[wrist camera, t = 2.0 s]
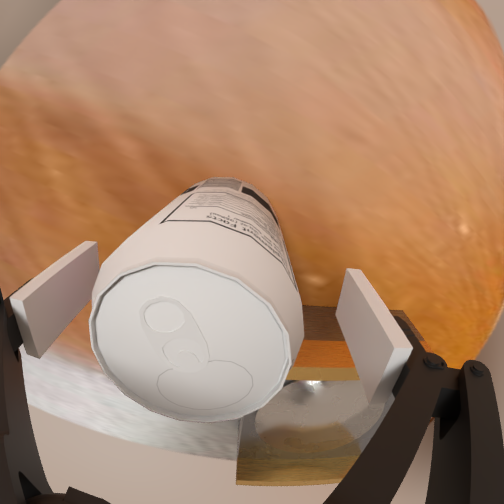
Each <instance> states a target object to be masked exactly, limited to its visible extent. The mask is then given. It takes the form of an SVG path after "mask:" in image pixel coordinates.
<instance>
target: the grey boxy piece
mask: <svg viewBox="0 0 504 504" xmlns="http://www.w3.org/2000/svg"><path fill="white" fill-rule="evenodd" d="M336 310H337V308H336V307H320V306H305V305H302V312H303V325H304V339H303V341H302V344H301V347H300V350H299V352H298V355H297V358H296V360H295V363H294V365H293V367H292V368H291V369H290V371H289V372H288V374H287V377H286V379H285V382H284V384H283V387H282V389H281V390H280V391H279V392H278V393H277V394H276V395H275V396H274V397H273V398H272V399H271V400H270V401H269V402H268V403H267V404H266V405H265V406H264V407H262V408H260V409H258V410H256V411H254V412H251V413H249V414H247V415H245V416H243V417H240V421H239V428H238V448H237V470H236V471H237V472H236V485H251V486H303V485H320V484H333V483H340V482H341V481H342V479H343V478H344V477H345V475H346V474H347V473H348V471H349V470H350V469H351V467H352V466H353V464H354V463H355V462H356V460H357V459H358V457H359V456H360V455H361V453H362V452H363V450H364V449H365V447H366V446H367V444H368V443H369V441H370V440H371V438H372V437H373V435H374V434H375V432H376V430H377V429H378V427H379V426H380V424H381V422H382V421H383V419H384V417H385V416H386V414H387V412H388V411H389V409H390V407H391V405H392V404H393V402H394V400H395V398H394V396H393V393H391V395H390V397H389V398H388V400H387V402H386V403H378V404H368V401H367V398H366V395H365V392H364V389H363V386H362V384H361V381H360V378H359V375H358V373H357V370H356V367H355V364H354V362H353V359H352V356H351V354H350V351H349V348H348V346H347V343H346V341H345V338H344V335H343V333H342V330H341V328H340V325H339V323H338V320H337V317H336V315H335V314H336ZM389 311H390V313H391V314H392V316H399V317H400V318H401V319H403V320H404V321H405V322H406V323H407V324H408V325H409V327H410V328H411V331H413V333H414V334H415V336H416V337H417V339H418V340H419V342H420V343H421V345H422V346H423V348H424V349H425V351H426V352H430V353H433V351H432V350H431V348H430V347H429V346H428V344H427V343H426V341H425V340H424V339H423V337H422V336H421V335H420V333H419V332H418V330H417V329H416V328H415V326H414V325H413V324H412V322H411V321H410V320H409V318H408V317H407V316H406V314H405V313H404V312H403V310H389Z"/></svg>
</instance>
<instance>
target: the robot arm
mask: <svg viewBox="0 0 504 504" xmlns="http://www.w3.org/2000/svg"><path fill="white" fill-rule="evenodd" d="M99 271H100V269H99V259H98V246H97V242H92V241H85V242H83V243H82V244H80V245H79V246H77V247H76V248H74V249H73V250H72V251H70V252H69V253H67V254H66V255H65V256H63V257H62V258H60V259H59V260H58V261H56V262H55V263H53V264H52V265H51V266H49V267H48V268H47V269H45V270H44V271H43V272H41V273H40V274H39V275H37V276H36V277H35V278H33V279H30V280H29V281H28V282H26V283H25V284H24V285H23V286H21V287H20V288H19V289H18V290H16V291H15V292H14V293H12V294H11V295H10V296H9V297H7V298H6V299H5V300H3V297H2V293H1V289H0V504H110V503H109V502H107V501H105V500H104V499H101V498H98V497H95V496H93V495H90V494H87V493H84V492H82V491H79V490H77V489H74V488H72V487H69V488H68V490H67V492H66V494H63V493H53V491H52V490H51V488H50V486H49V484H48V482H47V479H46V477H45V473H44V471H43V467H42V464H41V460H40V457H39V453H38V450H37V446H36V442H35V438H34V434H33V429H32V425H31V421H30V415H29V410H28V404H27V398H26V392H25V385H24V378H23V370H22V360H21V353H20V351H19V347H20V346H21V345H22V343H23V344H24V347H25V350H26V353H27V354H28V355H31V356H33V357H36V358H39V359H40V358H41V357H42V355H43V354H44V353H45V352H46V351H47V349H48V348H49V347H50V346H51V344H52V343H53V342H54V341H55V340H56V339H57V337H58V336H59V335H60V334H61V333H62V331H63V330H64V329H65V328H66V327H67V326H68V325H69V323H70V322H71V321H72V320H73V319H74V318H75V317H76V315H77V314H78V313H79V312H80V311H81V310H82V309H83V308H84V306H85V305H86V304H87V303H88V302H89V301H90V300H91V299H92V291H93V288H94V285H95V282H96V280H97V277H98V274H99ZM335 315H336V317H337V320H338V323H339V325H340V328H341V330H342V333H343V335H344V338H345V341H346V343H347V346H348V348H349V351H350V354H351V356H352V359H353V362H354V364H355V367H356V370H357V373H358V375H359V378H360V381H361V384H362V386H363V389H364V392H365V395H366V398H367V401H368V404H378V403H386V402H387V400H388V398H389V397H390V395H391V393H393V396H394V398H395V400H394V402H393V404H392V405H391V407H390V409H389V411H388V412H387V414H386V416H385V417H384V419H383V421H382V422H381V424H380V426H379V427H378V429H377V430H376V432H375V434H374V435H373V437H372V438H371V440H370V441H369V443H368V444H367V446H366V447H365V449H364V450H363V452H362V453H361V455H360V456H359V457H358V459H357V460H356V462H355V463H354V464H353V466H352V467H351V469H350V470H349V471H348V473H347V474H346V475H345V477H344V478H343V479H342V481H341V482H340V483H339V484H338V486H337V487H336V488H335V490H334V491H333V492H332V493H331V495H330V496H329V497H328V498H327V499H326V501H325V502H324V503H323V504H390V503H391V501H392V499H393V497H394V496H395V494H396V492H397V490H398V488H399V487H400V485H401V483H402V481H403V479H404V477H405V475H406V473H407V471H408V469H409V467H410V465H411V463H412V461H413V459H414V457H415V454H416V452H417V450H418V448H419V445H420V443H421V441H422V439H423V436H424V434H425V431H426V429H427V427H428V424H429V421H430V419H431V417H435V422H434V439H433V451H432V461H431V470H430V478H429V485H428V491H427V497H426V502H425V504H504V446H503V439H502V430H501V424H500V417H499V412H498V406H497V401H496V396H495V391H494V387H493V382H492V378H491V374H490V371H489V369H488V368H487V367H486V366H485V365H484V364H482V363H481V362H478V361H476V360H468V361H466V362H465V363H464V365H463V366H462V368H461V370H460V369H454V368H448V367H447V364H446V362H445V360H443V359H442V358H441V357H440V356H438V355H436V354H434V353H430V352H426V351H425V349H424V348H423V346H422V345H421V343H420V342H419V340H418V339H417V337H416V336H415V334H414V333H413V331H411V328H410V327H409V325H408V324H407V323H406V322H405V321H404V320H403V319H401V318H400V317H399V316H392V314H391V313H390V311H389V310H388V308H387V307H386V306H385V304H384V303H383V301H382V300H381V298H380V297H379V295H378V294H377V292H376V291H375V290H374V288H373V287H372V285H371V284H370V282H369V281H368V280H367V278H366V277H365V275H364V274H363V273H362V271H361V270H360V269H349V268H347V269H346V274H345V278H344V282H343V286H342V290H341V294H340V298H339V302H338V306H337V310H336V314H335Z"/></svg>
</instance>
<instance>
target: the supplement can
mask: <svg viewBox="0 0 504 504" xmlns="http://www.w3.org/2000/svg"><path fill="white" fill-rule="evenodd" d="M89 330H90V339H91V347H92V350H93V352H94V354H95V356H96V358H97V360H98V362H99V364H100V366H101V368H102V370H103V372H104V373H105V375H106V376H107V377H108V378H109V379H110V380H111V381H112V382H113V383H114V384H115V385H116V386H117V387H118V388H119V389H120V390H121V391H122V392H123V394H124V395H126V396H127V397H129V398H131V399H132V400H134V401H135V402H137V403H138V404H140V405H142V406H143V407H145V408H147V409H148V410H150V411H153V412H155V413H158V414H161V415H164V416H167V417H170V418H173V419H176V420H180V421H190V422H201V423H214V422H221V421H227V420H233V419H238V418H240V417H243V416H245V415H247V414H249V413H251V412H254V411H256V410H258V409H260V408H262V407H264V406H265V405H266V404H267V403H268V402H269V401H270V400H271V399H272V398H273V397H274V396H275V395H276V394H277V393H278V392H279V391H280V390H281V389H282V387H283V384H284V382H285V379H286V377H287V374H288V372H289V371H290V369H291V368H292V367H293V365H294V363H295V360H296V358H297V355H298V352H299V350H300V347H301V344H302V341H303V339H304V325H303V312H302V302H301V299H300V295H299V291H298V288H297V284H296V281H295V277H294V274H293V270H292V266H291V263H290V259H289V256H288V252H287V249H286V246H285V242H284V239H283V235H282V232H281V228H280V225H279V222H278V218H277V215H276V213H275V211H274V209H273V207H272V206H271V204H270V202H269V200H268V198H267V197H266V196H265V195H264V194H263V193H261V192H260V191H259V190H258V189H257V188H256V187H255V186H253V185H252V184H250V183H247V182H244V181H242V180H239V179H237V178H234V177H212V178H209V179H206V180H204V181H201V182H198V183H195V184H194V185H193V186H191V187H190V188H189V189H187V190H186V191H185V192H183V193H182V194H181V195H180V196H178V197H177V198H176V199H175V200H173V201H172V202H171V203H170V204H168V205H167V206H166V207H165V208H163V209H162V210H161V211H160V212H158V213H157V214H156V215H155V216H154V217H152V218H151V219H150V220H149V221H148V222H146V223H145V224H144V225H143V226H142V227H140V228H139V229H138V230H137V231H136V232H135V233H133V234H132V235H131V236H130V237H129V238H128V239H126V240H125V241H124V242H123V243H122V244H121V245H120V246H119V247H118V248H117V249H116V250H115V251H114V252H113V253H112V254H111V255H110V256H109V257H108V258H107V259H106V260H105V261H104V262H103V263H102V266H101V268H100V271H99V274H98V277H97V280H96V282H95V285H94V288H93V291H92V312H91V315H90V318H89Z"/></svg>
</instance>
